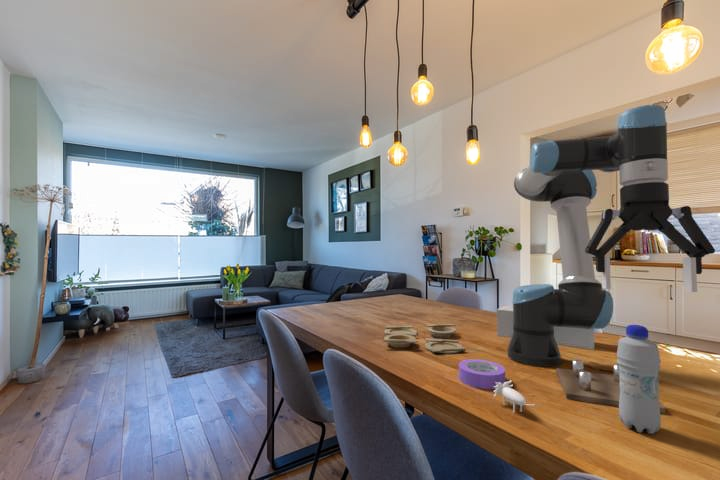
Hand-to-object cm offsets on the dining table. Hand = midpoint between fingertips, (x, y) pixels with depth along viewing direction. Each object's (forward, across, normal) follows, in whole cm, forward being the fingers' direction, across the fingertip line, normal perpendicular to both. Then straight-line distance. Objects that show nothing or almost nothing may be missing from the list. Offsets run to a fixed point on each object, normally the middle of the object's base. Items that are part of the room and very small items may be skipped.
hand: (646, 290), depth 67 cm
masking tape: (+27, -31, +14) cm, 44 cm away
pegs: (+25, -3, +17) cm, 31 cm away
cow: (+27, -24, -2) cm, 36 cm away
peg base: (+26, -3, +17) cm, 32 cm away
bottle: (+27, -2, -1) cm, 27 cm away
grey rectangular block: (+26, -9, +65) cm, 71 cm away
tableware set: (+26, -54, +47) cm, 76 cm away
